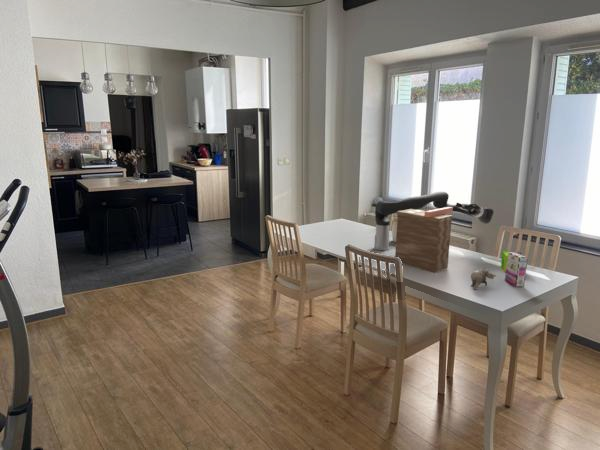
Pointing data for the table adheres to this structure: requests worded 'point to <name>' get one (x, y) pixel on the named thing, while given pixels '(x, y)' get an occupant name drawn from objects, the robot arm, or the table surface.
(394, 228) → the jug
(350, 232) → the table surface
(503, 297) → the table surface
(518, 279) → the candy bar box
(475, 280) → the rhino figurine
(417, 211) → the cabinet
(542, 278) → the table surface
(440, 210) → the baton
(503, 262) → the puzzle toy
